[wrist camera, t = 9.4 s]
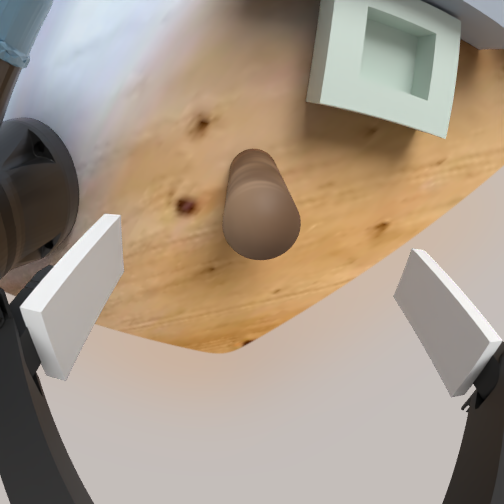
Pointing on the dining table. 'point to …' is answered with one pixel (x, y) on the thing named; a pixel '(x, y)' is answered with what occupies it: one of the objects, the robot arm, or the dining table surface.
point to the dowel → (259, 208)
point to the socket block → (387, 61)
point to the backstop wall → (477, 20)
